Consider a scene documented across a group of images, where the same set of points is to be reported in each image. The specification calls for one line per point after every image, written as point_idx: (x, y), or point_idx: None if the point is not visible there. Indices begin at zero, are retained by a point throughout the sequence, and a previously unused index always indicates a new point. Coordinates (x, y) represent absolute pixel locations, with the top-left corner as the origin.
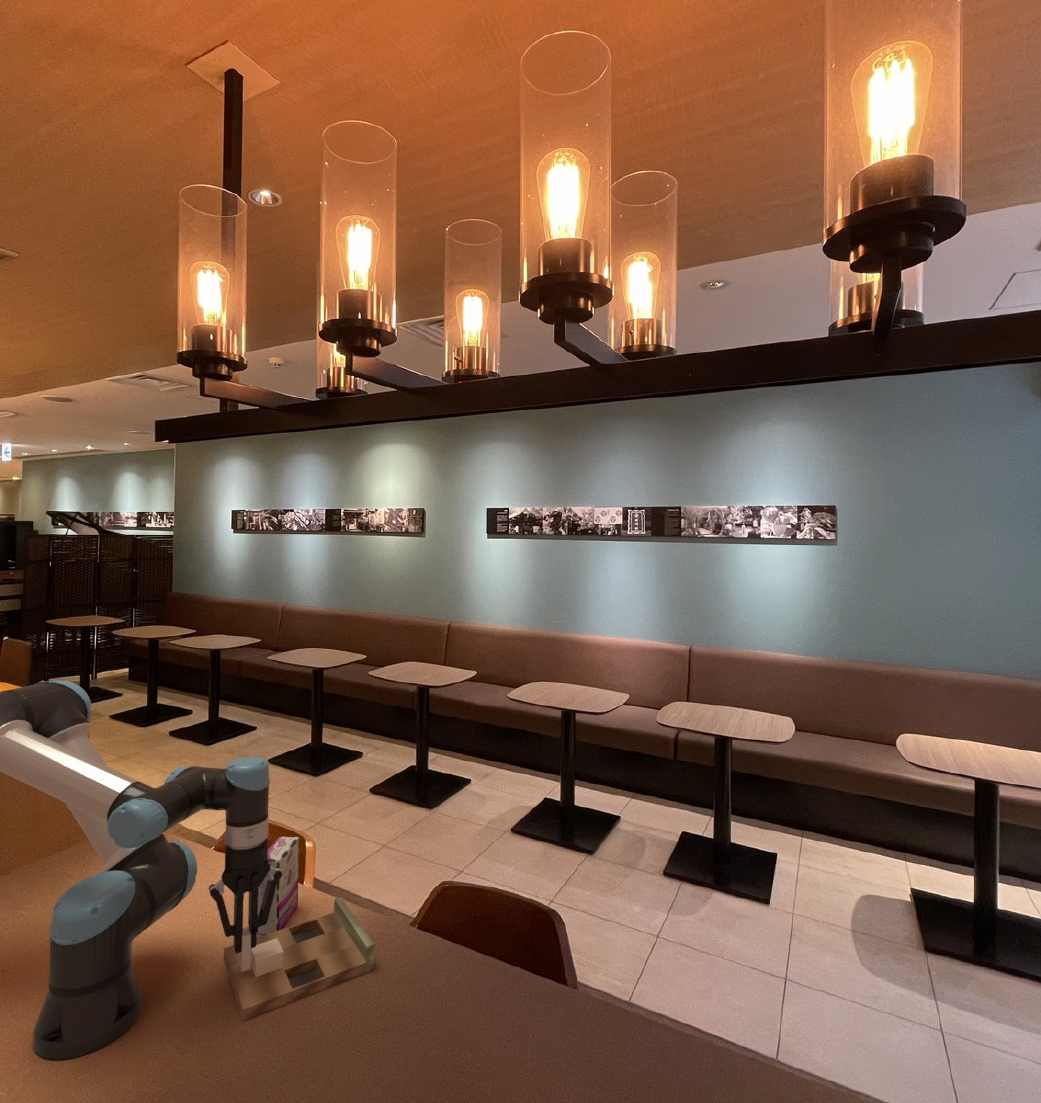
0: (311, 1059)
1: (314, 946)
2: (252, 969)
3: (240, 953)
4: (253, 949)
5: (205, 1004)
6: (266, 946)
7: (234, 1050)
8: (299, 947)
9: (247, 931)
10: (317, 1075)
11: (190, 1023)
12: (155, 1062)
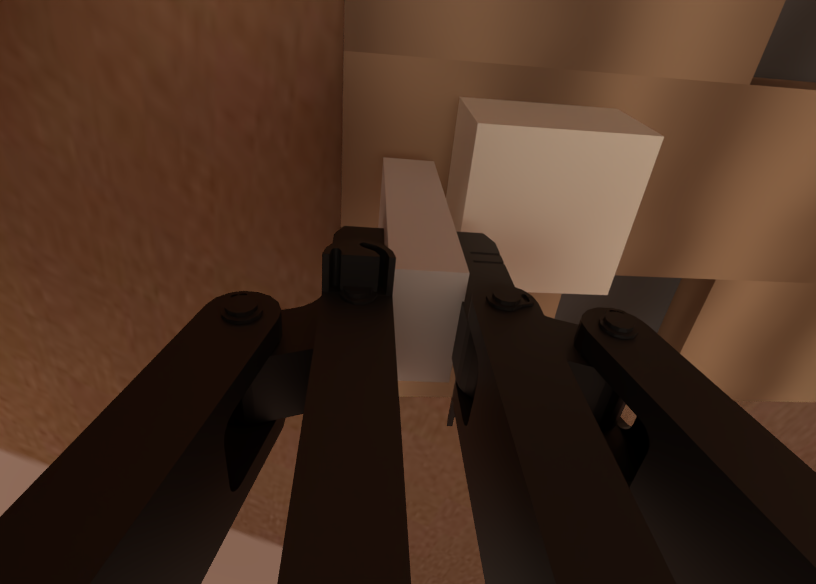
0: (459, 542)
1: (786, 185)
2: (448, 171)
3: (382, 223)
4: (483, 165)
5: (210, 192)
6: (562, 185)
7: (294, 448)
8: (733, 140)
9: (438, 335)
10: (451, 572)
11: (149, 271)
12: (44, 380)
